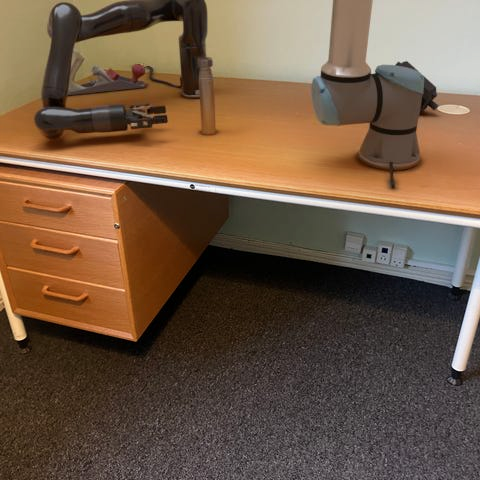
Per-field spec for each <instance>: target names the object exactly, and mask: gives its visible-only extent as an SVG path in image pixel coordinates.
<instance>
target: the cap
mask: <svg viewBox="0 0 480 480" xmlns="http://www.w3.org/2000/svg"><path fill="white" fill-rule="evenodd" d="M213 61H214V60H213V57H210V56H206V57H201V58H198V67H201V68H208V67H211V68H212V67H213V65H214V62H213Z"/></svg>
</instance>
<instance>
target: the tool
mask: <svg viewBox="0 0 480 480" xmlns="http://www.w3.org/2000/svg"><path fill="white" fill-rule="evenodd" d="M395 65H396V66H402V67H407V68H410V69H413V70H416V71H418V72H419V70H418V69H417V68H416V67H415V66H413V65H412V64H411V63H410V62H409V61H407V60H405V61H402V62H400V61H397V62H396V63H395ZM423 77H424V89H423V92H424V93H423V95H422V101H421V107H420V113H422V112H424V111H425V110H426V109H427V108H428V107H429V108H430V109H431V110H432V111H436V110H437V109H438V108H439V104H437V103H436V101H434V99H436V98H437V97H438V93H437V86H435V85H434V83H432V82H431V81H430V80H429V79H428V78H427V77H426V76H425V75H423Z"/></svg>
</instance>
